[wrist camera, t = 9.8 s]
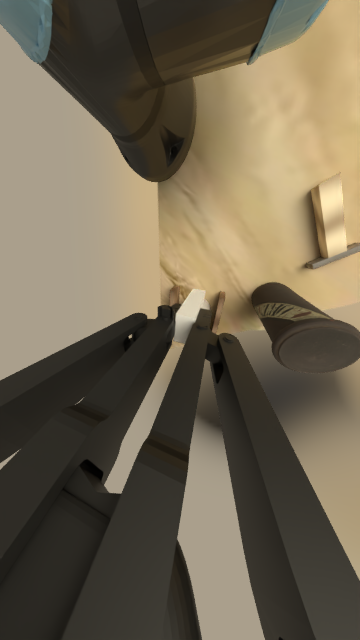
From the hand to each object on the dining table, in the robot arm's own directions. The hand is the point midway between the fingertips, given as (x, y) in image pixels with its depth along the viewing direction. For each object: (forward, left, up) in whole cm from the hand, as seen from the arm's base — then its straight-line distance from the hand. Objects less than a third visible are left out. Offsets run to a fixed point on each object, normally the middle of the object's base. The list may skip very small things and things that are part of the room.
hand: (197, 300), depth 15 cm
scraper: (-10, +19, -21) cm, 30 cm away
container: (+5, +16, -21) cm, 27 cm away
